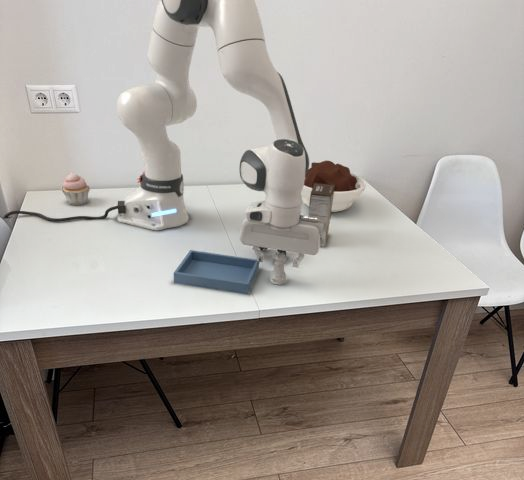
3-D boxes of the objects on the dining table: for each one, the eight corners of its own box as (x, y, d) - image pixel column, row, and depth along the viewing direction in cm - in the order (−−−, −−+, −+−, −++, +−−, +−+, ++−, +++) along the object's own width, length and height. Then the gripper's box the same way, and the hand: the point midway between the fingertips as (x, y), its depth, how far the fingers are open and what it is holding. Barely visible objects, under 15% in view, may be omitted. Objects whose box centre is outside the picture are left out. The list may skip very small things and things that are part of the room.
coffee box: (308, 232, 156) (314, 182, 146) (328, 235, 155) (335, 184, 145) (304, 244, 148) (310, 192, 139) (325, 247, 148) (332, 195, 138)
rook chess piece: (277, 275, 132) (279, 248, 128) (289, 281, 130) (292, 254, 125) (266, 280, 130) (267, 253, 125) (278, 287, 127) (280, 259, 123)
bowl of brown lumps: (374, 207, 176) (382, 164, 167) (334, 226, 160) (341, 180, 151) (318, 188, 188) (323, 147, 179) (276, 204, 173) (279, 161, 164)
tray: (174, 283, 126) (173, 272, 125) (190, 259, 137) (190, 249, 135) (247, 294, 124) (248, 284, 122) (258, 269, 134) (259, 259, 133)
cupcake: (87, 195, 170) (82, 166, 164) (95, 204, 164) (91, 174, 158) (60, 199, 166) (54, 169, 160) (67, 209, 160) (61, 178, 154)
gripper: (326, 213, 120) (318, 264, 128) (245, 202, 122) (243, 252, 131) (323, 224, 115) (315, 275, 123) (239, 211, 117) (237, 263, 126)
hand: (277, 263), depth 127 cm, fingers open, 8 cm apart
